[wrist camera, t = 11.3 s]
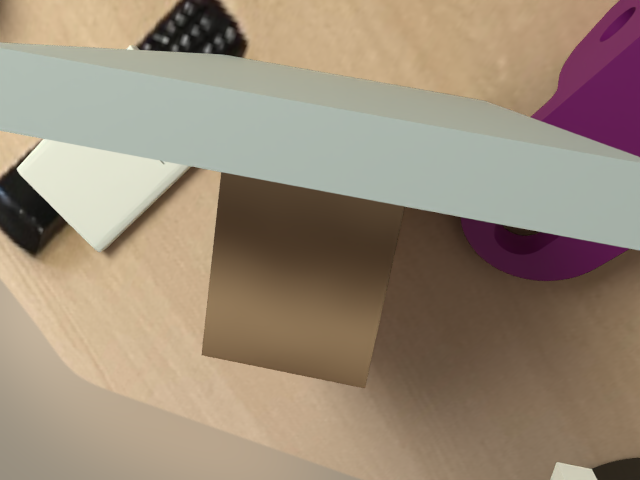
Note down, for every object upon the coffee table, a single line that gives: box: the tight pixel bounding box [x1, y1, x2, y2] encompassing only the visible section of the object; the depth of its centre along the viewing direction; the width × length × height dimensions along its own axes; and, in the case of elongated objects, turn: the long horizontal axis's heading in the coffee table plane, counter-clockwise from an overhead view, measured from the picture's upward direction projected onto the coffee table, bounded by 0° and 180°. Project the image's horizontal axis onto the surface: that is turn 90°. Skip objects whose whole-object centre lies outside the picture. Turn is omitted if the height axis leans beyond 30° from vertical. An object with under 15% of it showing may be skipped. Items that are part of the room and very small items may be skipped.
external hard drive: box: [17, 45, 192, 252], centre depth 39 cm, size 2×8×12 cm
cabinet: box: [202, 172, 405, 388], centre depth 27 cm, size 9×7×10 cm
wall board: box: [0, 43, 640, 250], centre depth 26 cm, size 14×17×24 cm
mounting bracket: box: [461, 0, 640, 281], centre depth 34 cm, size 10×8×18 cm
